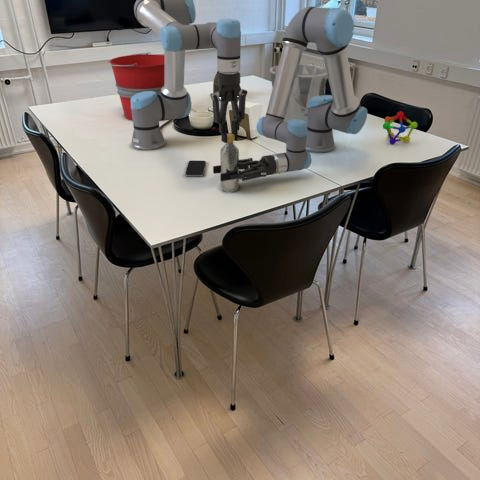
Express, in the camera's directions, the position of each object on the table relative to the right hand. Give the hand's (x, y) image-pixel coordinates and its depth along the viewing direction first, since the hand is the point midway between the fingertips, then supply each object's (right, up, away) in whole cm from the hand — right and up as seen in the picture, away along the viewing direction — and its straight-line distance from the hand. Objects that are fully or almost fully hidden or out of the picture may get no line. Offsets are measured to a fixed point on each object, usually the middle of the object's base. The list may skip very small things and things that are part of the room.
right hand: (217, 173), depth 162 cm
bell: (0, +66, +119) cm, 136 cm away
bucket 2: (+38, +36, +71) cm, 88 cm away
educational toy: (+83, +22, +48) cm, 98 cm away
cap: (+5, +13, -6) cm, 14 cm away
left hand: (+5, +11, -5) cm, 13 cm away
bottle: (+5, -5, +5) cm, 8 cm away
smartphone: (-10, +5, +20) cm, 23 cm away
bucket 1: (-44, +46, +86) cm, 107 cm away
